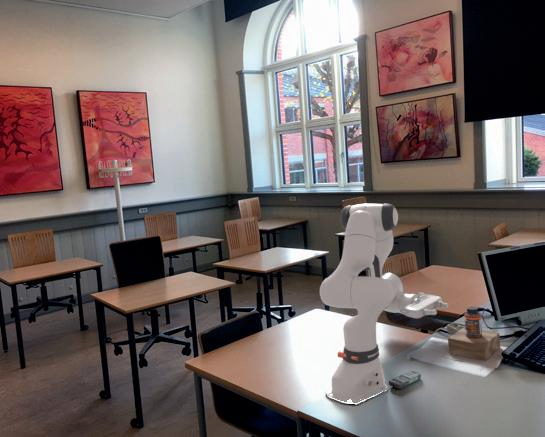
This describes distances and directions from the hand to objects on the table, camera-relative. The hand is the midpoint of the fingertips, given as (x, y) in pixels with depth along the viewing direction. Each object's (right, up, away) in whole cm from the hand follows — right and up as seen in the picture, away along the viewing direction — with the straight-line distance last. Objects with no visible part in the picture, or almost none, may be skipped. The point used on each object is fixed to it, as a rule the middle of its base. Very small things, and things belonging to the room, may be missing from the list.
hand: (441, 309), depth 197 cm
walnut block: (+10, -15, -7) cm, 19 cm away
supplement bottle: (+10, -9, -8) cm, 15 cm away
